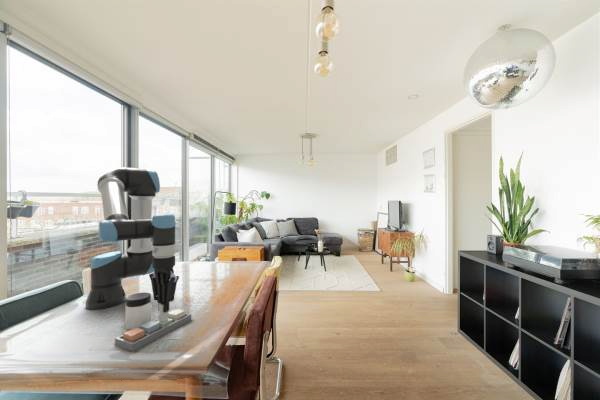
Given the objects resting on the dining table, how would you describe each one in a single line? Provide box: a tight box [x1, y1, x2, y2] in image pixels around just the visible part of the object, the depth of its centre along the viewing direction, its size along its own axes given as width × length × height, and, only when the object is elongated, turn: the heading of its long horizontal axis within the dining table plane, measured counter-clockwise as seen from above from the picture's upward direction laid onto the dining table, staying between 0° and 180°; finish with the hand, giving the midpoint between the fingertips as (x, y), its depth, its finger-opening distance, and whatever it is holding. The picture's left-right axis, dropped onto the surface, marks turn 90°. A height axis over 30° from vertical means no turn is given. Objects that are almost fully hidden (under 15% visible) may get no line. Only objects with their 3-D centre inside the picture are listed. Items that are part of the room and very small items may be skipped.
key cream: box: [168, 308, 186, 320], centre depth 99 cm, size 4×4×2 cm
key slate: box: [140, 320, 159, 334], centre depth 89 cm, size 4×4×2 cm
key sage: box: [156, 318, 173, 327], centre depth 94 cm, size 4×4×2 cm
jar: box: [124, 292, 153, 330], centre depth 97 cm, size 9×8×12 cm
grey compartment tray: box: [112, 312, 194, 353], centre depth 91 cm, size 11×23×4 cm, turn 156°
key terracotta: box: [122, 328, 144, 342], centre depth 84 cm, size 4×4×2 cm
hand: (163, 320), depth 94 cm, fingers closed
